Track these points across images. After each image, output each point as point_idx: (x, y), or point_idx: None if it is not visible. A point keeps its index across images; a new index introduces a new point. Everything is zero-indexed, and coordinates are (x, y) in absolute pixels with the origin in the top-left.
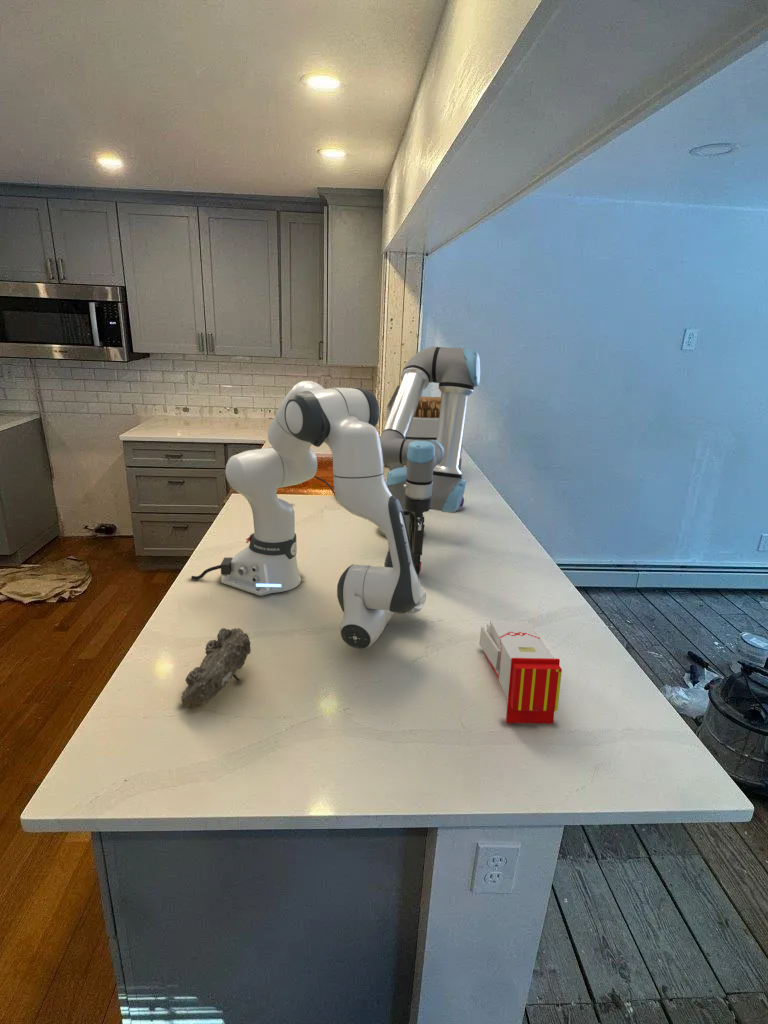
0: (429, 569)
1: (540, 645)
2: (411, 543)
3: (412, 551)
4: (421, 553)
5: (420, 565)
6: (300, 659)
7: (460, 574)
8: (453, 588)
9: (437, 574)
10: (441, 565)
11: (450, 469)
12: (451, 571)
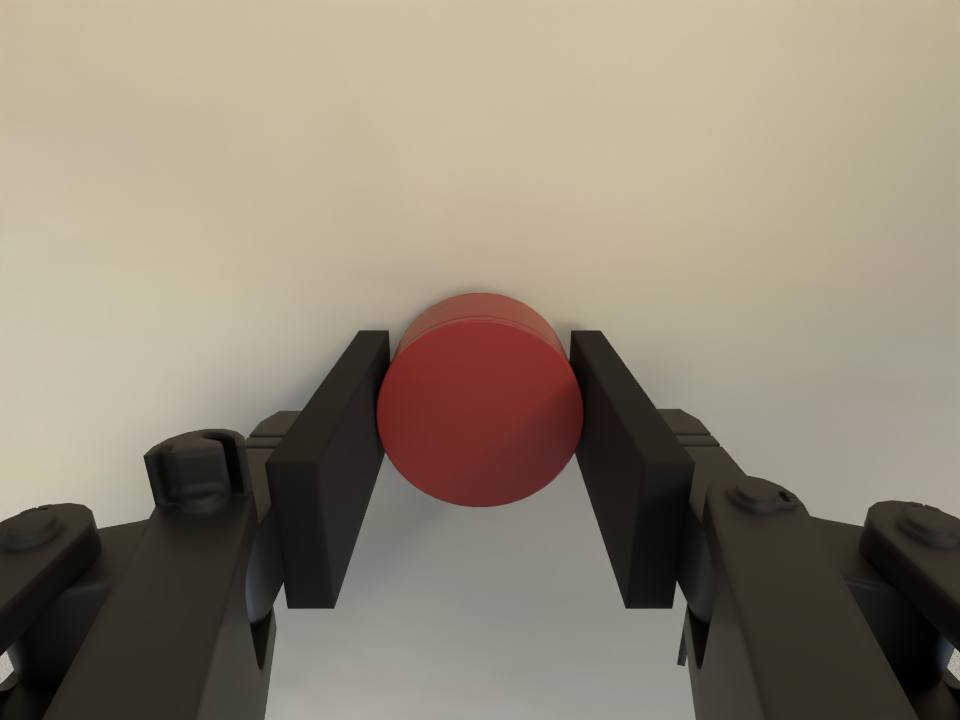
0: (588, 517)
1: None
2: (705, 542)
3: (177, 524)
4: (18, 686)
5: (422, 483)
6: None
7: (484, 710)
8: None
9: (484, 564)
10: (660, 617)
11: None
12: (539, 665)
